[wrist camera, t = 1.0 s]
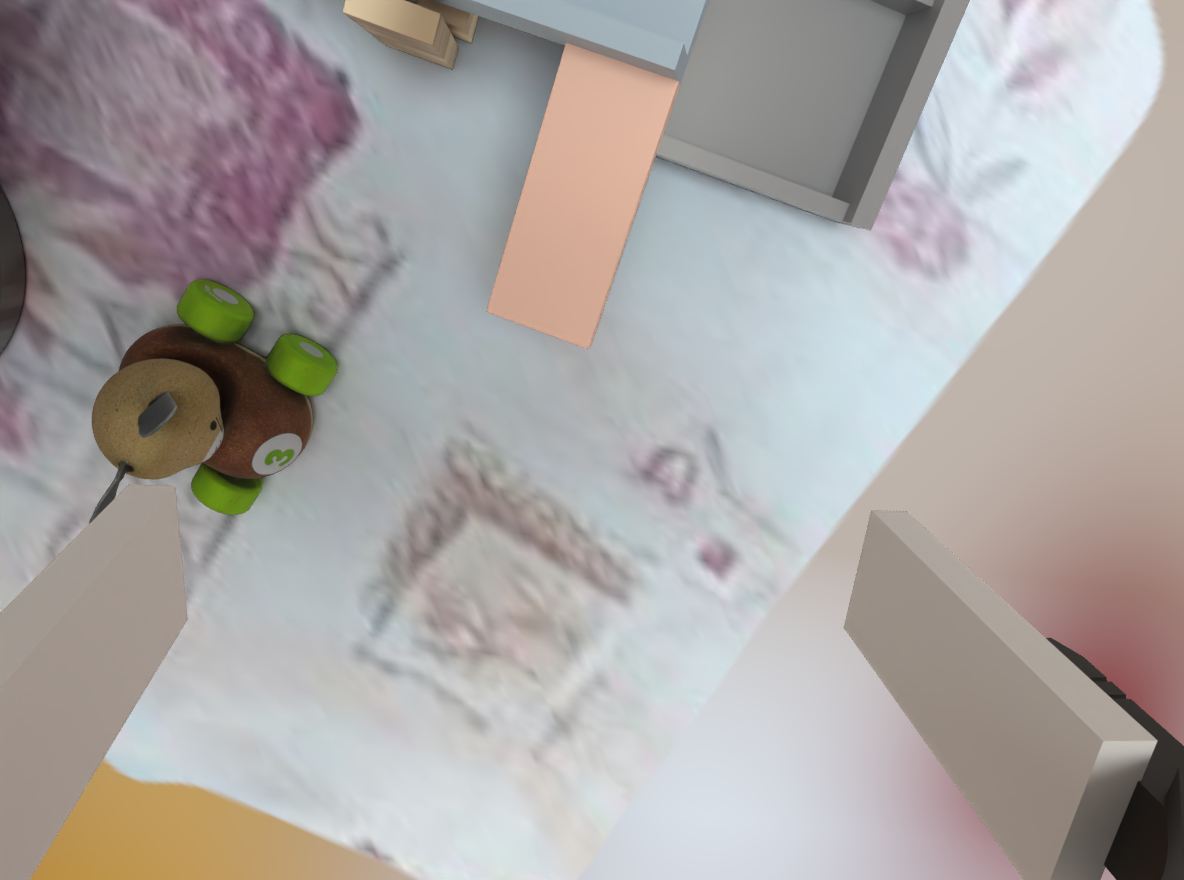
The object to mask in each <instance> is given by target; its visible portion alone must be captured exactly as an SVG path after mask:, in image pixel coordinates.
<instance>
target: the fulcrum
mask: <svg viewBox="0 0 1184 880" xmlns="http://www.w3.org/2000/svg"><path fill="white" fill-rule="evenodd" d="M343 13H345V14H346V15H347V16H349V17H350V18H351V19H352V20H354V21H355V22H356V23H358V24H359V25H360V26H361V27H363V28H364V29H365V30H367V31H368V32H369V33H370V34H372V35H373V36H374V37H376V38H377V39H378V40H380V41H381V42H382V43H383V44H385V45H386V46H389V47H392V48H395V49H397V50H400V51H403V52H405V53H408V54H411V55H414V56H416V57H419V58H422V59H425V60H427V61H430V62H433V63H435V64H438V65H441V66H444V67H446V68H449V69H452V70H453V66H454V62H455V58H456V54H457V51H458V47H459V46H458V44H457V42H456V41H455V39H454V37H456V38H459V39H461V40H464V41H467V42H469V43H472V40H473V36H474V32H475V28H476V24H477V21H478V17H479V16H477V15H474V14H471V13H468V12H465V11H462V10H459V9H457V8H454V7H451V6H448V5H445V4H442V3H439V2H436V1H433V0H418V3H417V4H414V3H411V2H408V1H405V0H345V5H344V9H343Z"/></svg>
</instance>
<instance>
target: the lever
mask: <svg viewBox="0 0 1184 880" xmlns="http://www.w3.org/2000/svg"><path fill="white" fill-rule="evenodd" d="M405 1H408V2H411V3H414V4H417V3H418V0H405ZM433 1H436V2H439V3H442V4H445V5H448V6H451V7H454V8H457V9H459V10H462V11H465V12H468V13H471V14H474V15H477V16H480V17H483V18H486V19H488V20H491V21H494V22H497V23H500V24H503V25H506V26H509V27H512V28H515V29H517V30H520V31H523V32H526V33H529V34H532V35H535V36H538V37H541V38H544V39H546V40H549V41H552V42H555V43H558V44H561V45H564V46H565V48H564V51H563V55H562V58H561V61H560V65H559V68H558V71H557V75H556V78H555V82H554V85H553V88H552V92H551V95H550V98H549V102H548V105H547V108H546V112H545V115H544V119H543V122H542V125H541V129H540V132H539V135H538V139H537V142H536V146H535V149H534V152H533V156H532V159H531V162H530V166H529V169H528V173H527V176H526V179H525V183H524V186H523V189H522V193H521V196H520V200H519V203H518V206H517V210H516V213H515V216H514V220H513V223H512V227H511V230H510V233H509V237H508V240H507V243H506V247H505V250H504V254H503V257H502V260H501V264H500V267H499V270H498V274H497V277H496V281H495V284H494V287H493V291H492V294H491V297H490V301H489V304H488V308H487V311H486V312H488V313H491V314H494V315H496V316H499V317H502V318H504V319H507V320H510V321H513V322H515V323H518V324H521V325H523V326H526V327H529V328H532V329H534V330H537V331H540V332H542V333H545V334H548V335H551V336H553V337H556V338H559V339H561V340H564V341H567V342H570V343H572V344H575V345H578V346H580V347H583V348H586V349H588V348H589V347H591V345H592V342H593V339H594V336H595V333H596V330H597V327H598V324H599V321H600V319H601V316H602V313H603V310H604V307H605V304H606V301H607V298H608V295H609V292H610V289H611V286H612V283H613V280H614V277H615V275H616V272H617V269H618V266H619V263H620V260H621V257H622V254H623V251H624V248H625V245H626V242H627V239H628V236H629V233H630V231H631V228H632V225H633V222H634V219H635V216H636V213H637V210H638V207H639V204H640V201H641V198H642V195H643V192H644V189H645V187H646V184H647V181H648V178H649V175H650V172H651V169H652V166H653V163H654V160H655V157H656V154H657V151H658V148H659V145H660V142H661V140H662V137H663V134H664V131H665V128H666V125H667V122H668V119H669V116H670V113H671V110H672V107H673V104H674V101H675V98H676V96H677V93H678V90H679V87H680V85H681V82H682V79H683V76H684V73H685V70H686V67H687V64H688V61H689V58H690V55H691V52H692V50H693V47H694V44H695V41H696V38H697V35H698V32H699V29H700V26H701V23H702V20H703V17H704V14H705V11H706V8H707V6H708V3H709V0H433Z"/></svg>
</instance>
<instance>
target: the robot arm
mask: <svg viewBox="0 0 1184 880" xmlns="http://www.w3.org/2000/svg"><path fill="white" fill-rule="evenodd" d="M24 287H25V266H24V256H23V249H22V244H21V240H20V235H19V231H18V228H17V225H16V222H15V219H14V216H13V214H12V211H11V209H10V206H9V204H8V202H7V200H6V198H5V196H4V194H3V192H2V190H1V188H0V353H1V352H2V350H3V349H4V347H5V346H6V344H7V343H8V341H9V339H10V337H11V335H12V333H13V331H14V329H15V327H16V324H17V321H18V318H19V315H20V311H21V308H22V303H23V297H24ZM186 621H187V609H186V598H185V588H184V577H183V566H182V555H181V544H180V533H179V522H178V511H177V500H176V489H175V486H159V485H130V484H129V485H128V486H127V487H126V488H125V489H124V490H123V491H122V492H121V493H120V494H119V495H118V496H117V497H116V498H115V499H114V500H113V501H112V502H111V503H110V504H109V505H108V506H107V507H106V508H105V509H104V510H103V511H102V512H101V513H100V514H99V515H98V516H97V517H96V518H95V519H94V520H93V521H92V522H91V523H90V524H89V525H88V526H87V527H86V528H85V529H84V530H83V531H82V532H81V533H80V534H79V535H78V536H77V537H76V538H75V539H74V540H73V541H72V542H71V543H70V544H69V545H68V546H67V547H66V548H65V549H64V550H63V551H62V552H61V553H60V554H59V555H58V556H57V557H56V558H55V559H54V560H53V561H52V562H51V563H50V564H49V565H48V566H47V567H46V568H45V569H44V570H43V571H42V572H41V573H40V574H39V575H38V576H37V577H36V578H35V579H34V580H33V581H32V582H31V583H30V584H29V585H28V586H27V587H26V588H25V589H24V590H23V591H22V592H21V593H20V594H19V595H18V596H17V597H16V598H15V599H14V600H13V601H12V602H11V603H10V604H9V605H8V606H7V607H6V608H5V609H4V610H3V611H2V612H1V613H0V880H30V879H31V877H32V875H33V873H34V872H35V870H36V869H37V867H38V865H39V864H40V862H41V860H42V859H43V857H44V855H45V854H46V852H47V850H48V849H49V847H50V845H51V844H52V842H53V840H54V839H55V837H56V836H57V834H58V832H59V831H60V829H61V827H62V826H63V824H64V822H65V821H66V819H67V817H68V816H69V814H70V813H71V811H72V809H73V808H74V806H75V804H76V803H77V801H78V799H79V798H80V796H81V794H82V793H83V791H84V789H85V788H86V786H87V784H88V783H89V781H90V780H91V778H92V776H93V775H94V773H95V771H96V769H97V768H98V766H99V765H100V763H101V761H102V760H103V758H104V756H105V755H106V753H107V752H108V750H109V748H110V747H111V745H112V743H113V742H114V740H115V738H116V737H117V735H118V733H119V732H120V730H121V728H122V727H123V725H124V723H125V722H126V720H127V719H128V717H129V715H130V714H131V712H132V710H133V709H134V707H135V705H136V704H137V702H138V700H139V699H140V697H141V695H142V694H143V692H144V690H145V689H146V687H147V686H148V684H149V682H150V681H151V679H152V677H153V676H154V674H155V672H156V671H157V669H158V667H159V666H160V664H161V662H162V661H163V659H164V657H165V656H166V654H167V652H168V651H169V649H170V648H171V646H172V644H173V643H174V641H175V639H176V638H177V636H178V634H179V633H180V631H181V629H182V628H183V626H184V624H185V623H186ZM844 629H845V630H846V631H847V633H848V634H849V636H850V637H851V638H852V640H853V641H854V643H855V644H856V646H857V647H858V648H859V650H860V651H861V652H862V654H863V655H864V657H865V658H866V660H867V661H868V662H869V664H870V665H871V667H872V668H873V669H874V671H875V672H876V674H877V675H878V676H879V678H880V679H881V681H882V682H883V683H884V685H885V686H886V688H887V689H888V690H889V692H890V693H891V695H892V696H893V697H894V699H895V700H896V702H897V703H898V704H899V706H900V707H901V709H902V710H903V711H904V713H905V714H906V716H907V717H908V718H909V720H910V721H911V723H912V724H913V725H914V727H915V728H916V729H917V731H918V732H919V734H920V735H921V737H922V738H923V739H924V741H925V742H926V743H927V745H928V746H929V748H930V749H931V751H932V752H933V753H934V755H935V756H936V758H937V759H938V760H939V762H940V763H941V765H942V766H943V767H944V769H945V770H946V772H947V773H948V774H949V776H950V777H951V779H952V780H953V781H954V783H955V784H956V786H957V787H958V788H959V790H960V791H961V793H962V794H963V795H964V797H965V798H966V800H967V801H968V802H969V804H970V805H971V807H972V808H973V809H974V811H975V812H976V814H977V815H978V816H979V818H980V819H981V821H982V822H983V823H984V825H985V826H986V828H987V829H988V830H989V832H990V833H991V835H992V836H993V837H994V839H995V840H996V842H997V843H998V844H999V846H1000V847H1001V849H1002V850H1003V851H1004V853H1005V854H1006V856H1007V857H1008V858H1009V860H1010V861H1011V863H1012V864H1013V865H1014V867H1015V868H1016V870H1017V871H1018V873H1019V874H1020V875H1021V877H1022V878H1023V879H1024V880H1100V879H1101V877H1102V874H1103V871H1104V869H1105V867H1106V868H1107V869H1108V870H1109V871H1110V872H1111V874H1112V875H1113V876H1114V877H1115V879H1116V880H1184V746H1183V745H1182V744H1181V743H1180V742H1179V741H1177V740H1176V739H1175V738H1174V737H1173V736H1172V735H1171V734H1169V733H1168V732H1167V731H1166V730H1165V729H1164V728H1163V727H1162V726H1161V725H1159V724H1158V723H1157V722H1156V721H1155V720H1154V719H1153V718H1152V717H1150V716H1149V715H1148V714H1147V713H1146V712H1145V711H1144V710H1142V709H1141V708H1140V707H1139V706H1138V705H1137V704H1136V703H1135V702H1134V701H1132V700H1131V699H1126V694H1125V693H1123V692H1122V691H1121V690H1120V689H1119V688H1118V687H1116V686H1115V685H1114V684H1113V683H1112V682H1107V680H1106V677H1105V676H1104V675H1103V674H1102V673H1101V672H1100V671H1098V670H1097V669H1096V668H1095V667H1094V666H1093V665H1092V664H1091V663H1090V662H1088V661H1087V660H1086V659H1085V658H1084V657H1083V656H1081V655H1079V654H1078V653H1076V652H1074V651H1072V650H1071V649H1069V648H1067V647H1066V646H1064V645H1062V644H1060V643H1059V642H1057V641H1055V640H1053V639H1052V638H1045V637H1044V636H1042V634H1040V633H1039V632H1038V631H1037V630H1036V629H1035V628H1034V627H1033V626H1032V625H1031V624H1030V623H1028V622H1027V621H1026V620H1025V619H1024V618H1023V617H1022V616H1021V615H1020V614H1019V613H1017V612H1016V611H1015V610H1014V609H1013V608H1012V607H1011V606H1010V605H1009V604H1008V603H1007V602H1005V601H1004V600H1003V599H1002V598H1001V597H1000V596H999V595H998V594H997V593H996V592H994V591H993V590H992V589H991V588H990V587H989V586H988V585H987V584H986V583H984V581H983V580H981V579H980V578H979V577H978V576H977V575H976V574H975V573H974V572H973V571H972V570H970V569H969V568H968V567H967V566H966V565H965V564H964V563H963V562H962V561H961V560H960V559H958V558H957V557H956V556H955V555H954V554H953V553H952V552H951V551H950V550H949V549H948V548H946V547H945V546H944V545H943V544H942V543H941V542H940V541H939V540H938V539H936V538H935V537H934V536H933V535H932V534H931V533H930V532H929V531H928V530H927V529H926V528H925V527H923V526H922V525H921V524H920V523H919V522H918V521H917V520H916V519H915V518H914V517H912V516H911V515H910V514H909V513H908V512H907V511H881V510H871V514H870V518H869V522H868V526H867V531H866V535H865V539H864V544H863V548H862V553H861V556H860V560H859V565H858V569H857V573H856V578H855V582H854V586H853V590H852V595H851V599H850V603H849V608H848V612H847V616H846V620H845V625H844Z"/></svg>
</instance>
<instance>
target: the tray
mask: <svg viewBox="0 0 1184 880" xmlns="http://www.w3.org/2000/svg"><path fill="white" fill-rule="evenodd" d="M969 1H970V0H709V3H708V6H707V8H706V11H705V14H704V17H703V20H702V23H701V26H700V29H699V32H698V35H697V38H696V41H695V44H694V47H693V50H692V52H691V55H690V58H689V61H688V64H687V67H686V70H685V73H684V76H683V79H682V82H681V85H680V87H679V90H678V93H677V96H676V98H675V101H674V104H673V107H672V110H671V113H670V116H669V119H668V122H667V125H666V128H665V131H664V134H663V137H662V140H661V142H660V145H659V148H658V151H657V154H656V157H659V158H662V159H664V160H667V161H670V162H673V163H675V164H678V165H681V166H684V167H686V168H689V169H692V170H695V171H697V172H700V173H703V174H706V175H708V176H711V177H714V178H717V179H719V180H722V181H725V182H728V183H730V184H733V185H736V186H739V187H741V188H744V189H747V190H750V191H752V192H755V193H758V194H761V195H763V196H766V197H769V198H772V199H774V200H777V201H780V202H783V203H785V204H788V205H791V206H794V207H796V208H799V209H802V210H805V211H807V212H810V213H813V214H816V215H818V216H821V217H824V218H827V219H829V220H832V221H835V222H838V223H842V224H846V225H850V226H854V227H859V228H863V229H867V230H871V229H872V227H873V224H874V222H875V220H876V217H877V215H878V213H879V210H880V208H881V206H882V204H883V201H884V199H885V197H886V194H887V192H888V190H889V187H890V185H891V183H892V180H893V178H894V176H895V173H896V171H897V169H898V166H899V164H900V162H901V159H902V157H903V155H904V152H905V150H906V148H907V145H908V143H909V141H910V138H911V136H912V134H913V131H914V129H915V127H916V124H917V122H918V120H919V117H920V115H921V113H922V110H923V108H924V106H925V103H926V101H927V99H928V96H929V94H930V92H931V89H932V87H933V85H934V82H935V80H936V78H937V76H938V73H939V71H940V69H941V66H942V64H943V62H944V59H945V57H946V55H947V52H948V50H949V48H950V45H951V43H952V41H953V38H954V36H955V34H956V31H957V29H958V27H959V24H960V22H961V20H962V17H963V15H964V13H965V10H966V8H967V6H968V3H969Z"/></svg>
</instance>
